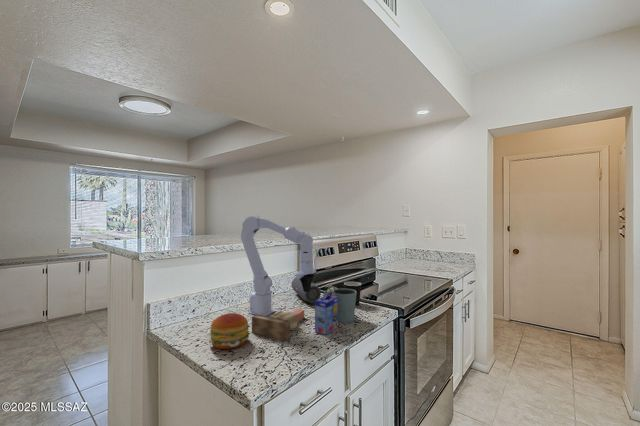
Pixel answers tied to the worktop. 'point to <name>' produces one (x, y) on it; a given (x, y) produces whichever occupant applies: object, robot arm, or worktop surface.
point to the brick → (299, 314)
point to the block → (286, 318)
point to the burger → (229, 331)
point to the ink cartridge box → (326, 314)
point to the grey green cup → (345, 304)
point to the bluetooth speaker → (306, 296)
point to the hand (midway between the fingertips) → (306, 291)
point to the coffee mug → (354, 286)
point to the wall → (271, 327)
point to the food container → (329, 290)
